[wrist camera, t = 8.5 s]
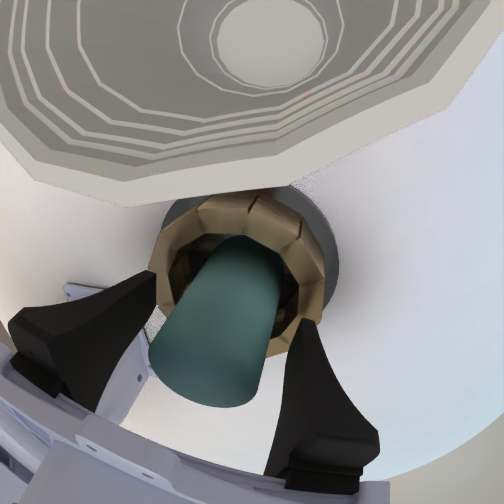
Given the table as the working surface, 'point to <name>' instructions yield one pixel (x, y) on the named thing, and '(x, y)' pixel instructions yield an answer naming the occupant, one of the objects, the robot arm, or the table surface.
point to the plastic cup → (222, 87)
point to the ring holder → (263, 231)
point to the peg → (221, 326)
